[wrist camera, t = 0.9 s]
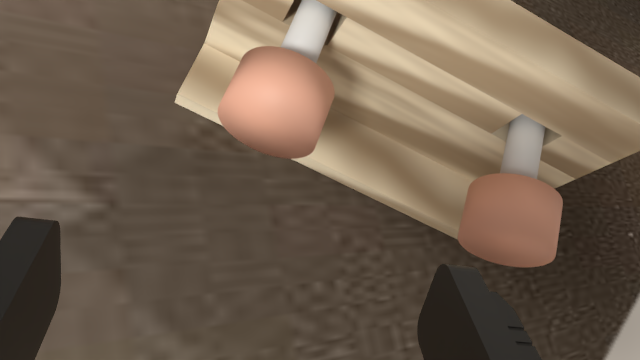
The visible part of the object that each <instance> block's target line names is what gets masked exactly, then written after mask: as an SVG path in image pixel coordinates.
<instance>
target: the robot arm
mask: <svg viewBox="0 0 640 360" xmlns="http://www.w3.org/2000/svg"><path fill="white" fill-rule="evenodd" d="M60 287H61V256H60V225H59V222H58V221H53V220H44V219H35V218H26V217H16V218H15V219H14V220H13V221H12V223H11V224H10V226H9V227H8V229H7V231H6V232H5V234H4V235H3V237H2V238H1V240H0V360H35V357H36V355H37V353H38V350H39V348H40V346H41V343H42V341H43V339H44V336H45V334H46V332H47V329H48V327H49V325H50V322H51V320H52V318H53V315H54V313H55V310H56V307H57V304H58V299H59V294H60ZM418 341H419V345H420V348H421V351H422V354H423V357H424V360H542V359H541V358H540V356H539V354H538V352H537V350H536V349H535V347H533V346H532V341H531V340H530V338H529V336H528V334H527V332H526V331H524V327H523V325H522V323H521V321H520V320H519V318H518V316H517V314H516V312H515V311H514V309H513V308H512V307H511V306H510V305H509V304H508V303H507V302H506V301H505V300H504V299H503V298H502V297H501V296H500V295H499V294H498V293H497V292H489V290H488V288H487V286H486V284H485V282H484V280H483V278H482V276H481V275H480V273H479V271H478V270H477V269H476V268H475V267H467V266H457V265H448V264H442V265H440V266H439V267H438V269H437V271H436V273H435V276H434V279H433V281H432V284H431V287H430V289H429V292H428V294H427V297H426V300H425V302H424V305H423V308H422V310H421V313H420V316H419V320H418Z"/></svg>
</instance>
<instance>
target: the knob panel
mask: <svg viewBox="0 0 640 360" xmlns="http://www.w3.org/2000/svg"><path fill="white" fill-rule="evenodd" d="M301 1H302V0H219V2H218V5H217V8H216V11H215V14H214V17H213V19H212V22H211V25H210V28H209V31H208V34H207V37H206V40H205V43H204V45H203V47H202V49H201V51H200V52H199V54H198V56H197V58H196V60H195V62H194V64H193V66H192V67H191V69H190V71H189V73H188V75H187V77H186V79H185V81H184V83H183V84H182V86H181V88H180V90H179V92H178V94H177V97H176V100H175V103H177V104H179V105H181V106H183V107H185V108H187V109H189V110H191V111H193V112H195V113H197V114H199V115H201V116H203V117H205V118H208V119H210V120H212V121H214V122H216V123H218V124H220V125H222V123H221V121H220V120H219V117H218V107H219V104H220V102H221V100H222V98H223V96H224V94H225V92H226V90H227V88H228V86H229V84H230V82H231V80H232V78H233V75H234V73H235V71H236V69H237V67H238V65H239V63H240V61H241V59H242V57H243V56H244V54H245V53H246V52H248V51H249V50H251V49H253V48H256V47H262V46H275V47H281V45H282V43H283V41H284V38H285V36H286V34H287V32H288V30H289V27H290V25H291V23H292V21H293V19H294V16H295V14H296V12H297V10H298V7H299V5H300V3H301ZM317 1H318V2H320V3H322V4H324V5H326V6H327V7H329V8H331V9H333V10H335V11H337V13H336V16H335V18H334V21H333V23H332V26H331V28H330V31H329V33H328V35H327V38H326V40H325V43H324V45H323V48H322V50H321V53H320V55H319V57H318V60H317V62H316V64H317V65H318V66H320V67H321V68H322V69H323V70H324V71H325V73H326V74H327V75H328V76H329V78H330V79H331V81H332V83H333V86H334V90H335V95H334V99H333V102H332V105H331V107H330V110H329V112H328V115H327V118H326V120H325V123H324V126H323V128H322V131H321V134H320V136H319V139H318V142H317V144H316V147H315V149H314V151H313V152H312V153H311V154H310V155H308V156H305V157H302V158H296V159H292V160H294V161H296V162H298V163H300V164H303V165H305V166H307V167H309V168H311V169H313V170H315V171H317V172H319V173H321V174H323V175H325V176H327V177H329V178H331V179H334V180H336V181H338V182H340V183H342V184H344V185H346V186H348V187H350V188H352V189H354V190H356V191H358V192H360V193H362V194H365V195H367V196H369V197H371V198H373V199H375V200H377V201H379V202H381V203H383V204H385V205H387V206H389V207H391V208H393V209H395V210H398V211H400V212H402V213H404V214H406V215H408V216H410V217H412V218H414V219H416V220H418V221H420V222H422V223H424V224H426V225H429V226H431V227H433V228H435V229H437V230H439V231H441V232H443V233H445V234H447V235H449V236H451V237H453V238H455V239H457V240H458V232H459V228H460V223H461V219H462V214H463V210H464V206H465V201H466V197H467V192H468V188H469V185H470V184H471V183H472V182H473V181H474V180H475V179H477V178H479V177H482V176H485V175H489V174H496V173H500V170H501V165H502V160H503V155H504V150H505V145H506V140H507V135H508V130H509V125H510V121H512V120H513V119H515V118H516V117H518V116H520V115H521V114H523V115H525V116H527V117H529V118H531V119H532V120H534V121H536V122H538V123H540V124H541V125H543V126H545V133H544V139H543V145H542V151H541V157H540V163H539V169H538V175H537V180H540V181H542V182H544V183H546V184H548V185H550V186H551V187H553V188H554V189H555V188H557V187H559V186H561V185H564V184H566V183H568V182H570V181H573V180H575V179H577V178H580V177H582V176H584V175H586V174H589V173H591V172H593V171H595V170H598V169H600V168H602V167H604V166H607V165H609V164H611V163H613V162H616V161H618V160H620V159H622V158H625V157H627V156H629V155H631V154H634V153H636V152H638V151H640V77H638V76H636V75H635V74H633V73H631V72H630V71H628V70H626V69H625V68H623V67H621V66H620V65H618V64H616V63H615V62H613V61H611V60H610V59H608V58H606V57H605V56H603V55H601V54H600V53H598V52H596V51H595V50H593V49H591V48H590V47H588V46H586V45H585V44H583V43H581V42H580V41H578V40H576V39H574V38H573V37H571V36H569V35H568V34H566V33H564V32H563V31H561V30H559V29H558V28H556V27H554V26H553V25H551V24H549V23H548V22H546V21H544V20H543V19H541V18H539V17H538V16H536V15H534V14H533V13H531V12H529V11H528V10H526V9H524V8H523V7H521V6H519V5H518V4H516V3H514V2H513V1H511V0H317ZM222 126H223V125H222Z"/></svg>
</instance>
